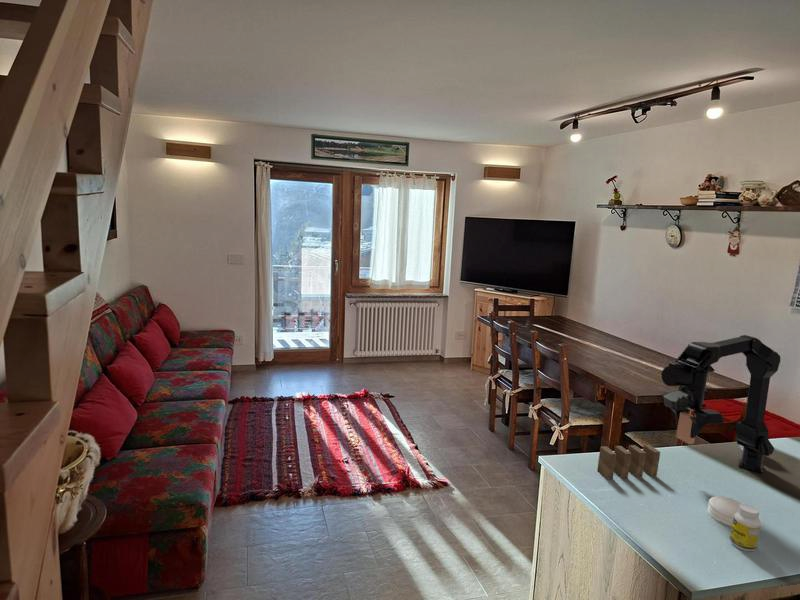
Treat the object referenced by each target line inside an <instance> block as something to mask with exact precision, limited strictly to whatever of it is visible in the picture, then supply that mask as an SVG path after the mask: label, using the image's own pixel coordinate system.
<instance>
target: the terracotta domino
mask: <svg viewBox="0 0 800 600" xmlns="http://www.w3.org/2000/svg"><path fill="white" fill-rule="evenodd" d="M690 417H695V415H692V414H691V413H689V412H688V413H686V412H680V417H679V422H678V428H677V427H676V433H675V434H676V435H675V438H677V439H679V440H680V441H682V442H684V443H686V444H687V445H693V444H695V440H696V439H695V438H696V437H695V438H691V427H692V420H691V419H690Z"/></svg>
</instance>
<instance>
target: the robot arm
mask: <svg viewBox="0 0 800 600" xmlns="http://www.w3.org/2000/svg"><path fill="white" fill-rule="evenodd" d="M687 344H688V345H687V346H686V348H685V349H684V350H683V351H682V352H681V354H680V355H679V356H678V357H677V359H676V360H675V362H669V363H668V365H667V366H665V367H664V368H663V370H662V371H661V380H662V382H663V383H664V384H665V386H668V387H678V390H676V391H672V392H671V391H669V392H668V391H665V392H663V393H662V394H661V396H660V397H661V398H660V401H661V402H662V403H664V406H665V407H666V408H669V409H670V410H671V411H672V412H673V415H674V418H675V420H674V421H675V422H676V423H675V425H676V429H677V428H678V422H679V417H680V412H686V413H688V414H689V413H690V411H691V412H693V413H695V415H694V417H690V419H691V420H692V427H691V438H696V437H697V435H698V434H699V433H700V432H701V431H702V430H703V429H704V428H705V426H707V425H710V424H711V425H716V424H717V425H718V424H723V422H724V416H723V414H722V413H720V412H718V411H716V410H714V409H712V408H711V409H710V408H709V409H707V408H706V407H707V404H706V403H704V398H705V395H708V394H709V390H707V389H706V386H707V381H708V378H709V377H708V376H709V372H710V373H711V372H715V369H714V367H712V365H714V364H716V363H718V362H719V360H720V358H724V357H728V356H732V355H737V354H743V356H744V357H746V360H745V364H746V365H745V366H746V367H747V370H748V372H749V374H750V378H749V384H748V385H749V387H748V394H747V400H746V408H745V414H744V415H745V416H744V418H743V419H742V420H741V421H737V422H736V423H735V431H734V434H735V438H736V439H735V440H736V444H737V445H738V446H739V445H741V446H743V451H742V453H741V458H739V461H738V464H737V467H738V468H742V469H746V470H749V471H753V472H756V473H759V474H763V472H764V464H763V463H764V457H770V455H773V453H774V451H775V447H774V446H773V444H772V443H771V441H770V440H769V429H768V427H767V425H766V422H765V414H766V410H767V409H766V408H767V403H768V402H767V400H768V395H769V389H770V382H771V381H770V380H771V378H772V377H773V376H774V375H775V374H776V372H778V370H779V366H780V363H781V356H780V354H779V353H778V352H777V351H774V350H773V349H772V348H771V347H769V346H768V345H766V344H765V343H763V342H762V341H761V339H759V338H757V337H754V336H750V335H747V334H743V335H740V336H738V337H733V338H727V339H723V340H718V341H713V342H706V341H692V342H689V343H687ZM703 408H706V409H703Z"/></svg>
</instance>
